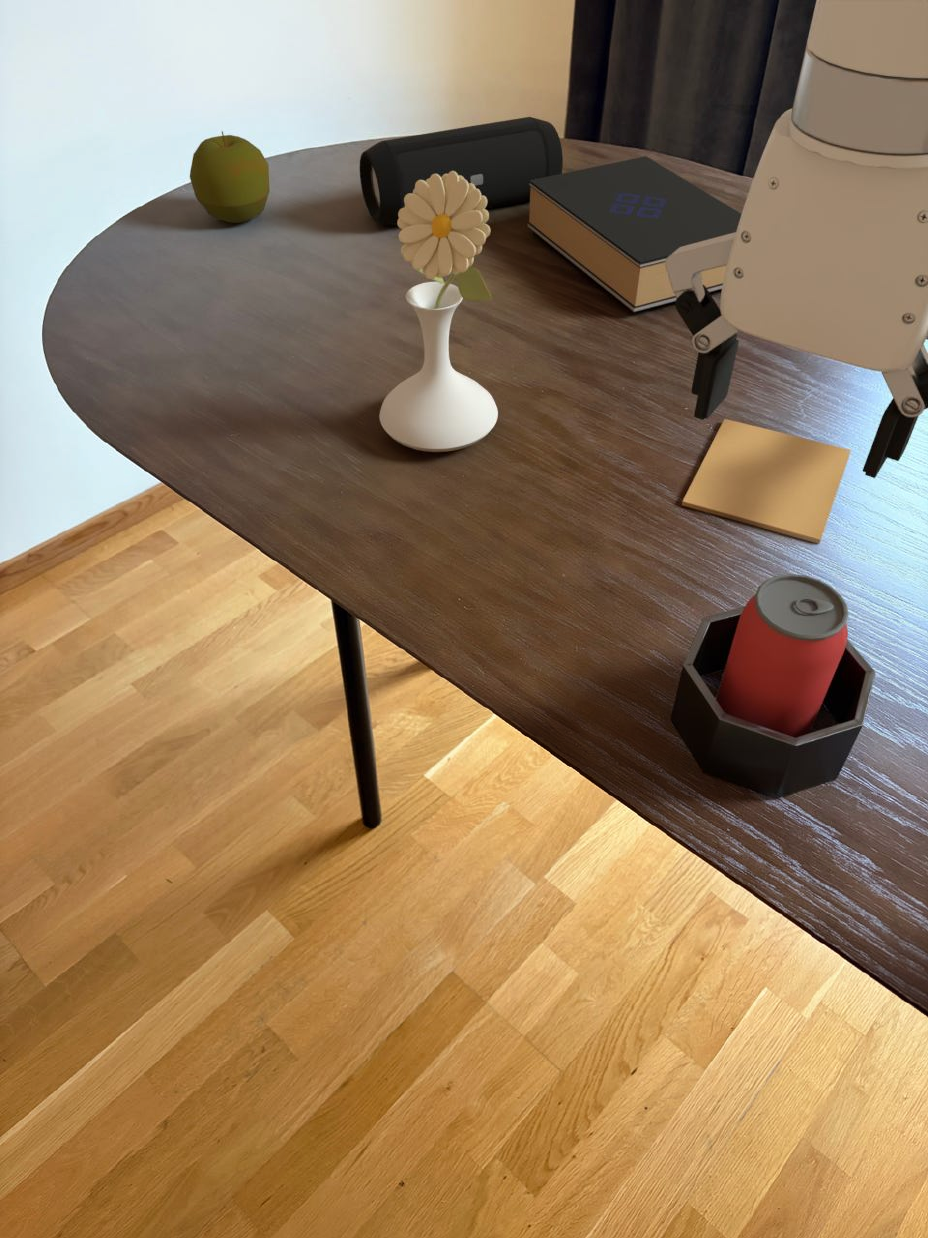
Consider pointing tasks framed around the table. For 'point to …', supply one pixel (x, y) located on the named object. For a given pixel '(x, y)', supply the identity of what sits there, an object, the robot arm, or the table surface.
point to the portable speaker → (461, 163)
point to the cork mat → (769, 480)
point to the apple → (230, 178)
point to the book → (628, 226)
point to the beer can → (784, 654)
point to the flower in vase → (441, 317)
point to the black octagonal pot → (756, 750)
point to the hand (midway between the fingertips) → (790, 434)
